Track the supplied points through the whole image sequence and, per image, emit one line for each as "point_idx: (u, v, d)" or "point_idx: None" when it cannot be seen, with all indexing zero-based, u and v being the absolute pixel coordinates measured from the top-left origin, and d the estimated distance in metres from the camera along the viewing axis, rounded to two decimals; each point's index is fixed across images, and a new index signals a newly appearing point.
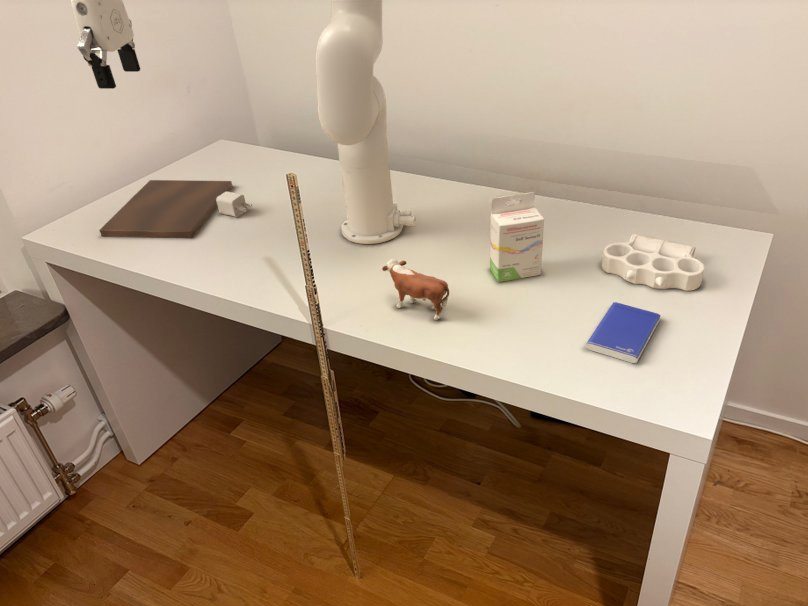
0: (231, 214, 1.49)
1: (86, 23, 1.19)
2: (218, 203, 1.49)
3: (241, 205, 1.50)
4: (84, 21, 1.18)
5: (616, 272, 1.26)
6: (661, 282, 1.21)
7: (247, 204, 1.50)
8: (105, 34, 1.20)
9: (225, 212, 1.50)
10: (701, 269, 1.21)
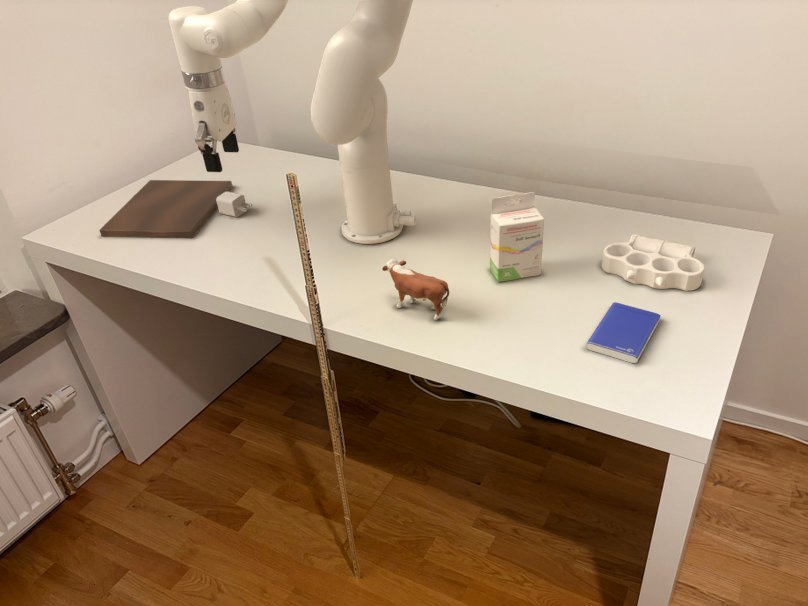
0: (231, 214, 1.49)
1: (202, 118, 1.33)
2: (218, 203, 1.49)
3: (241, 205, 1.50)
4: (200, 116, 1.33)
5: (616, 272, 1.26)
6: (661, 282, 1.21)
7: (247, 204, 1.50)
8: (217, 127, 1.35)
9: (225, 212, 1.50)
10: (701, 269, 1.21)
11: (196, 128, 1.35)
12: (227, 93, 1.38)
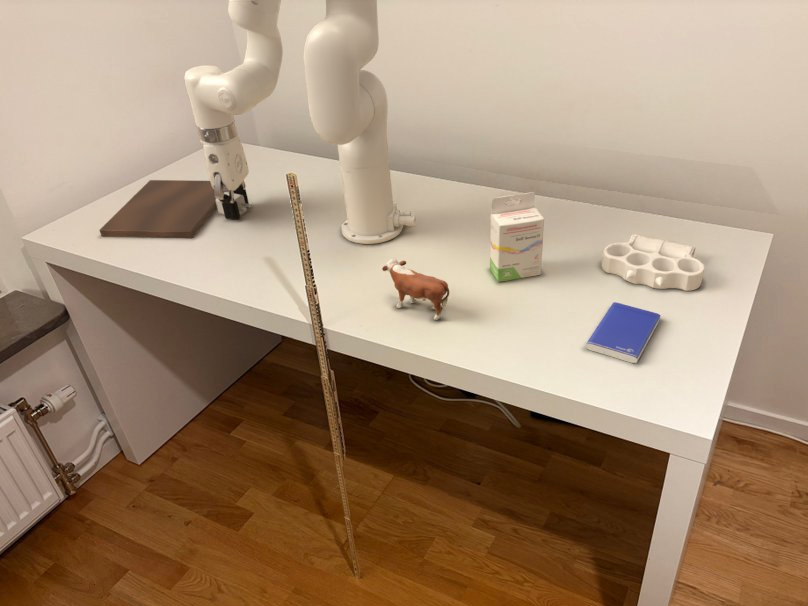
0: None
1: (216, 170, 1.40)
2: (217, 204, 1.49)
3: (240, 205, 1.50)
4: (214, 168, 1.40)
5: (616, 272, 1.26)
6: (661, 282, 1.21)
7: (247, 204, 1.50)
8: (231, 178, 1.41)
9: None
10: (701, 269, 1.21)
11: (211, 179, 1.41)
12: (240, 144, 1.45)
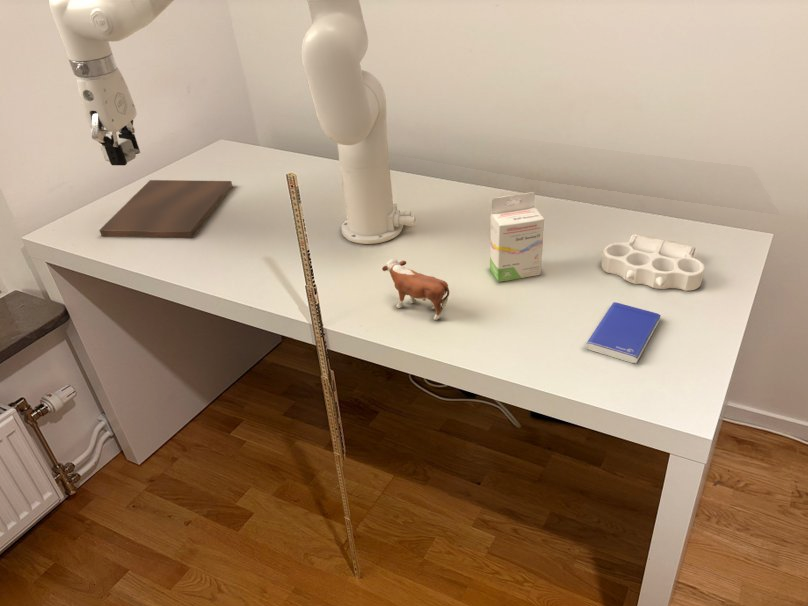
0: None
1: (92, 108, 1.28)
2: (102, 149, 1.37)
3: (128, 151, 1.38)
4: (90, 106, 1.28)
5: (616, 272, 1.26)
6: (661, 282, 1.21)
7: (134, 150, 1.38)
8: (110, 117, 1.29)
9: None
10: (701, 269, 1.21)
11: (88, 119, 1.30)
12: (122, 82, 1.33)
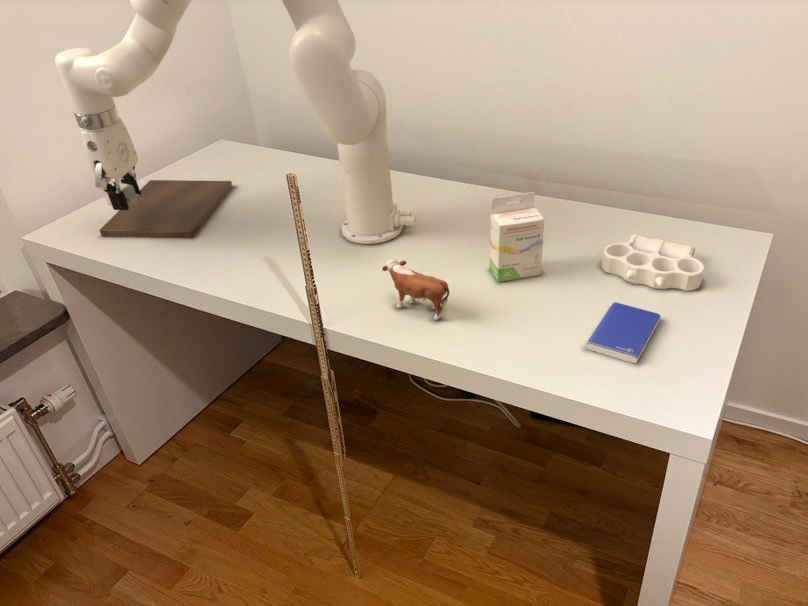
0: None
1: (96, 158, 1.34)
2: (105, 194, 1.43)
3: (130, 196, 1.44)
4: (94, 156, 1.33)
5: (616, 272, 1.26)
6: (661, 282, 1.21)
7: (136, 195, 1.43)
8: (113, 166, 1.35)
9: None
10: (701, 269, 1.21)
11: (92, 168, 1.35)
12: (125, 131, 1.38)
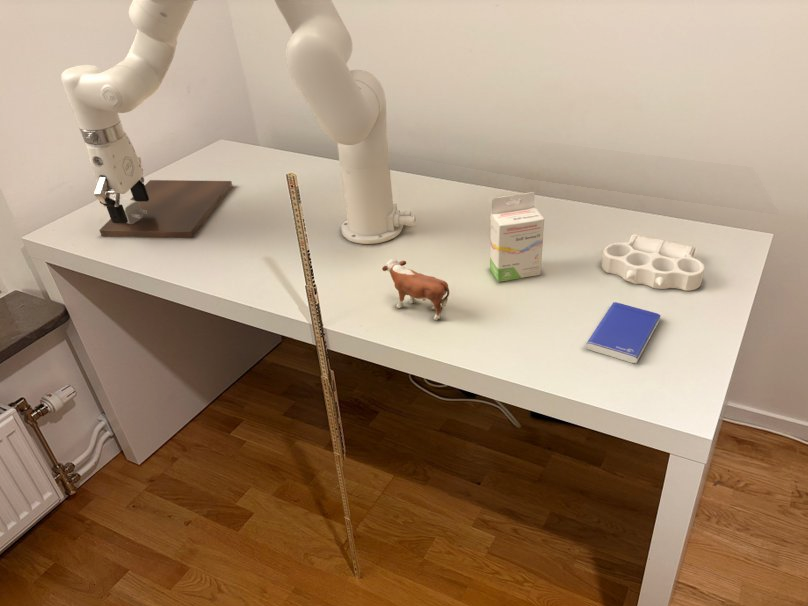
0: None
1: (102, 172, 1.35)
2: None
3: (136, 212, 1.46)
4: (100, 171, 1.35)
5: (616, 272, 1.26)
6: (661, 282, 1.21)
7: (142, 211, 1.46)
8: (118, 181, 1.37)
9: None
10: (701, 269, 1.21)
11: (97, 182, 1.37)
12: (130, 146, 1.40)
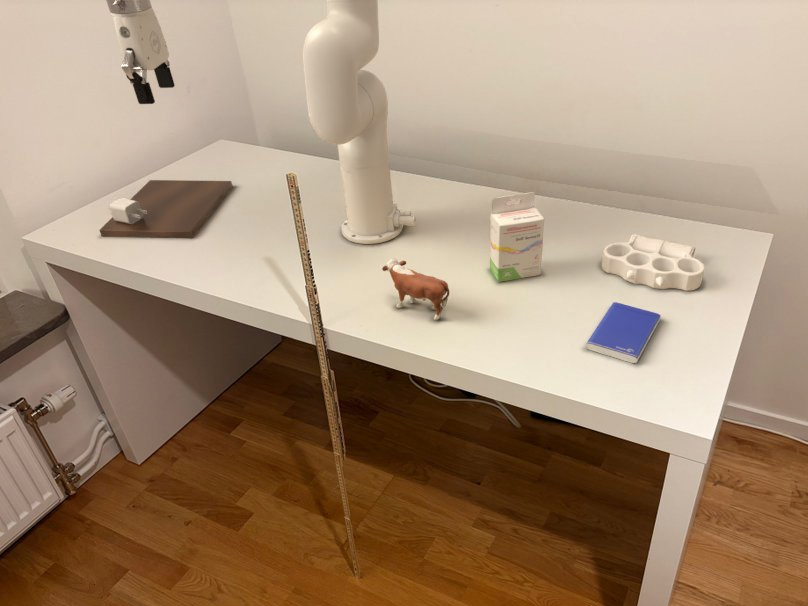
0: (125, 221, 1.45)
1: (128, 45, 1.30)
2: (111, 210, 1.45)
3: (136, 212, 1.46)
4: (127, 43, 1.30)
5: (616, 272, 1.26)
6: (661, 282, 1.21)
7: (142, 211, 1.46)
8: (146, 54, 1.31)
9: (119, 219, 1.46)
10: (701, 269, 1.21)
11: (124, 56, 1.32)
12: (156, 22, 1.35)
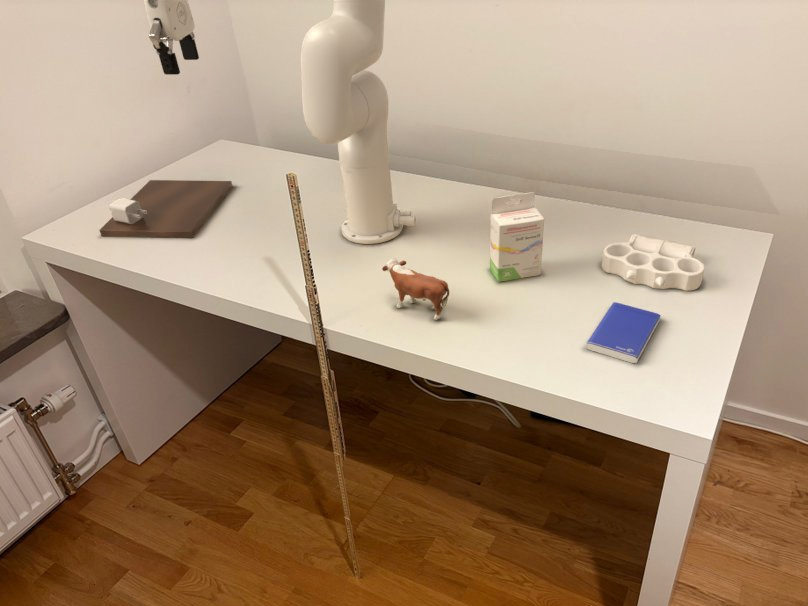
0: (125, 221, 1.45)
1: (156, 15, 1.32)
2: (111, 210, 1.45)
3: (136, 212, 1.46)
4: (154, 13, 1.32)
5: (616, 272, 1.26)
6: (661, 282, 1.21)
7: (142, 211, 1.46)
8: (172, 25, 1.33)
9: (119, 219, 1.46)
10: (701, 269, 1.21)
11: (151, 26, 1.33)
12: None
